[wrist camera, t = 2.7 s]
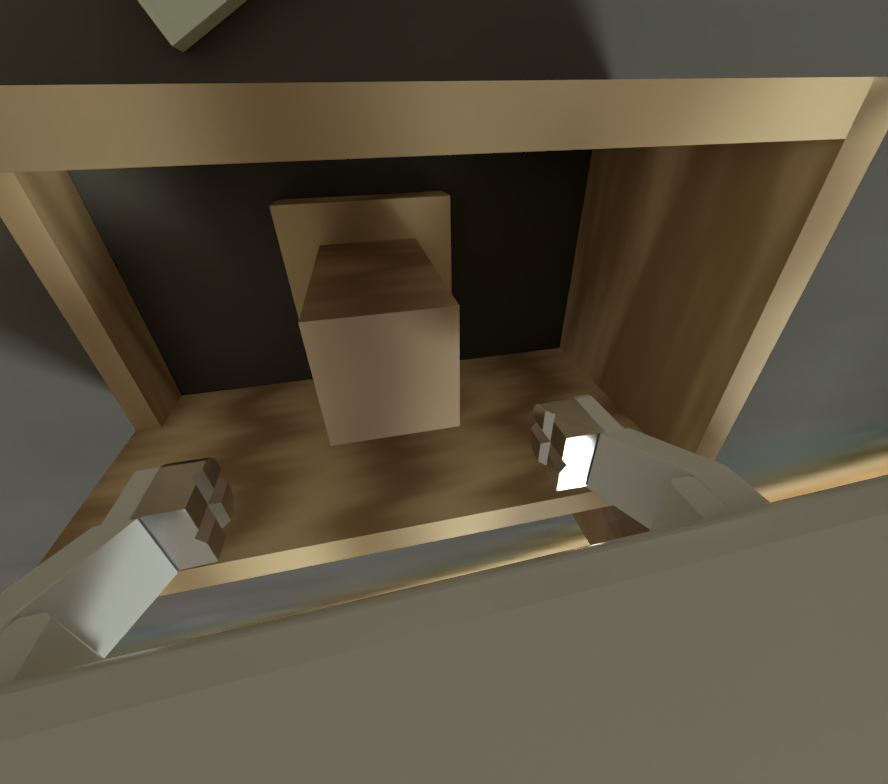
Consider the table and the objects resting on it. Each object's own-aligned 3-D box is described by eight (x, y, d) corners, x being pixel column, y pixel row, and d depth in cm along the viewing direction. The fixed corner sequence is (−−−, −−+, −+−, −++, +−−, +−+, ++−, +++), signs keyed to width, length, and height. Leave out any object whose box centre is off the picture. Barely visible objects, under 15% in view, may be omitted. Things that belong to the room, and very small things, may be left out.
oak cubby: (621, 107, 19) (915, 76, 9) (572, 360, 27) (699, 488, 17) (6, 121, 15) (-670, 92, 5) (168, 414, 23) (33, 621, 13)
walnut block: (415, 238, 18) (459, 305, 11) (421, 324, 21) (459, 425, 13) (319, 245, 18) (298, 322, 10) (337, 333, 20) (330, 446, 13)
